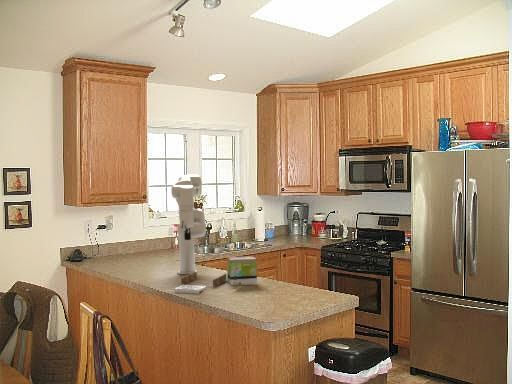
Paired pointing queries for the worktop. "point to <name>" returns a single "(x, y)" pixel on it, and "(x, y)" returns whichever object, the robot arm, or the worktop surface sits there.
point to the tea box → (242, 270)
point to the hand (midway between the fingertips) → (187, 239)
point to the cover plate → (190, 289)
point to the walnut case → (193, 280)
